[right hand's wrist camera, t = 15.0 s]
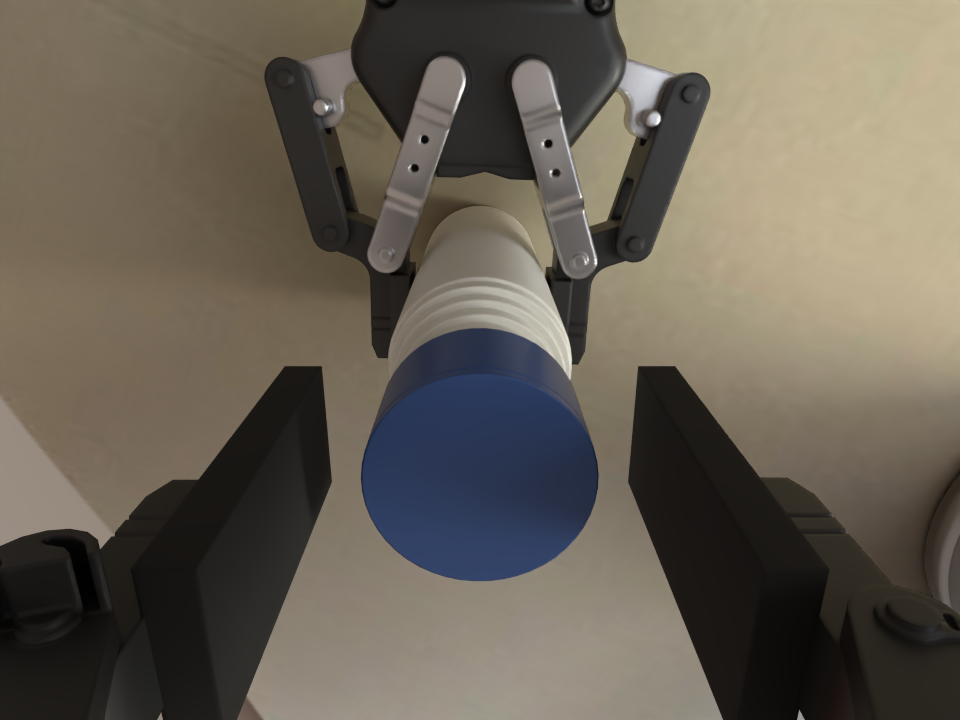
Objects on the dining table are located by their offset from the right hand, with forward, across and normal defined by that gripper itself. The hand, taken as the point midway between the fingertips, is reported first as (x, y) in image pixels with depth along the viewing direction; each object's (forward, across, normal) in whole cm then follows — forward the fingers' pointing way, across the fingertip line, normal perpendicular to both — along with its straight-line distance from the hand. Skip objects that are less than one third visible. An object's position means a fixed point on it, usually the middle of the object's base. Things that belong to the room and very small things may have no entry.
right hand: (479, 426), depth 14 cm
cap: (-2, 0, 0) cm, 2 cm away
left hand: (+10, 0, -3) cm, 11 cm away
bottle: (+17, 0, 0) cm, 17 cm away
